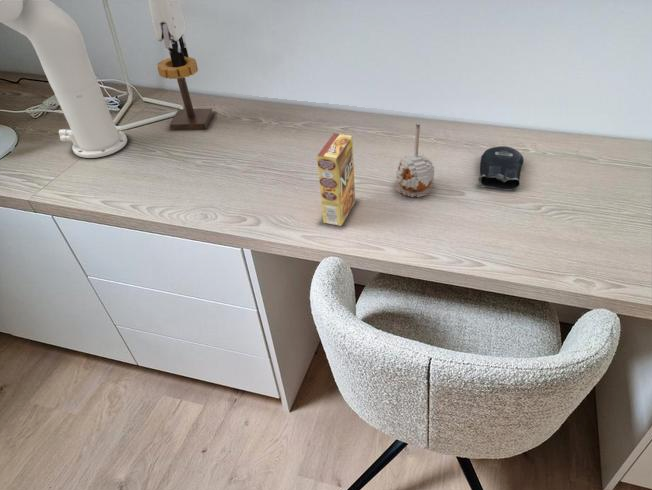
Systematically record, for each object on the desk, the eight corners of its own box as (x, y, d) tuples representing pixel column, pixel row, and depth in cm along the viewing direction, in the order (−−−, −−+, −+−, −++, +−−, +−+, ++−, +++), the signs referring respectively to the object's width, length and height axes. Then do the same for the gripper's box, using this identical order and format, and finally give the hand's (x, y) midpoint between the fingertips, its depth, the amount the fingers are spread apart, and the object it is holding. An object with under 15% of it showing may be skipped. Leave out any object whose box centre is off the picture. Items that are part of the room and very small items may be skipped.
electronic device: (521, 197, 106) (523, 154, 115) (522, 177, 102) (525, 133, 111) (476, 196, 108) (482, 154, 117) (476, 176, 104) (482, 134, 113)
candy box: (342, 227, 97) (338, 158, 87) (322, 223, 98) (315, 155, 88) (356, 202, 103) (353, 135, 93) (337, 198, 104) (332, 132, 94)
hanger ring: (154, 79, 119) (151, 70, 117) (165, 64, 125) (163, 56, 124) (193, 78, 119) (191, 70, 117) (202, 64, 125) (200, 56, 124)
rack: (171, 129, 128) (157, 86, 120) (180, 114, 134) (168, 71, 127) (205, 129, 128) (194, 85, 120) (213, 113, 134) (202, 71, 126)
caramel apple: (390, 183, 108) (391, 119, 98) (421, 175, 110) (426, 112, 100) (405, 202, 103) (408, 136, 92) (438, 193, 105) (445, 128, 94)
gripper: (154, -25, 118) (175, 55, 130) (132, -6, 106) (158, 79, 119) (186, -25, 118) (204, 54, 130) (167, -7, 106) (189, 78, 119)
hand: (182, 65), depth 124 cm, fingers closed on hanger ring, 2 cm apart
